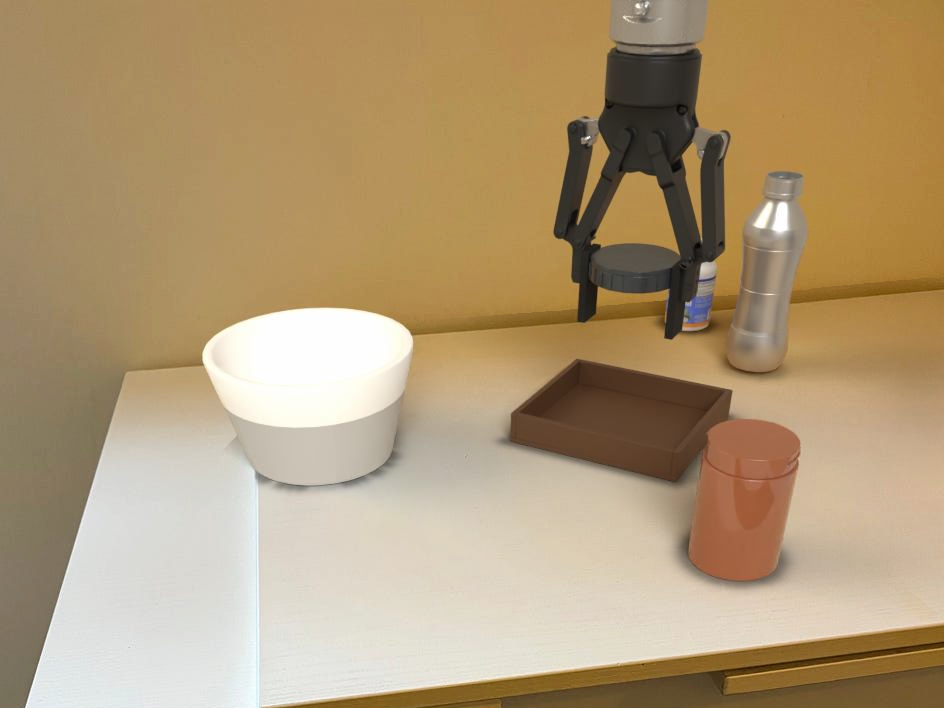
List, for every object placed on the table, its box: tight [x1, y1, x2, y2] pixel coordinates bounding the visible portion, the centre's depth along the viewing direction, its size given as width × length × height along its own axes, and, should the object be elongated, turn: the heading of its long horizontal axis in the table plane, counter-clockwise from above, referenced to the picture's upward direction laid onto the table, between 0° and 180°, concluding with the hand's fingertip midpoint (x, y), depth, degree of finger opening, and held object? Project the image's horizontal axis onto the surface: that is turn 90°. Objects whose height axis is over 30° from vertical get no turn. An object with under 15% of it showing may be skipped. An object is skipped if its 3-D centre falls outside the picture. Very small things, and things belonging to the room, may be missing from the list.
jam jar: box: [687, 418, 801, 582], centre depth 78 cm, size 7×7×11 cm
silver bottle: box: [725, 170, 809, 373], centre depth 105 cm, size 6×7×20 cm
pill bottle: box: [664, 237, 718, 332], centre depth 118 cm, size 5×5×10 cm
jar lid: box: [588, 242, 681, 295], centre depth 90 cm, size 8×8×2 cm
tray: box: [509, 358, 734, 483], centre depth 99 cm, size 17×15×3 cm
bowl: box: [202, 307, 415, 486], centre depth 94 cm, size 19×19×11 cm
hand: (629, 325), depth 93 cm, fingers closed on jar lid, 8 cm apart
